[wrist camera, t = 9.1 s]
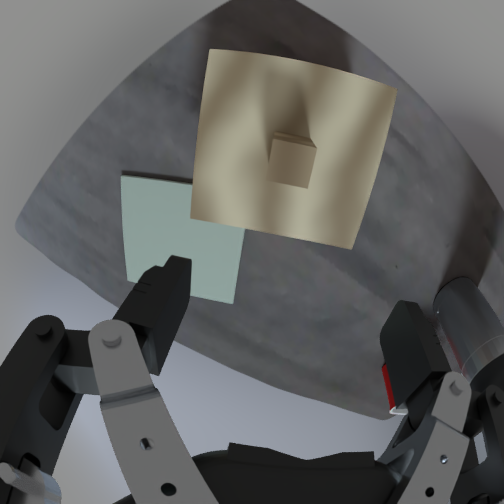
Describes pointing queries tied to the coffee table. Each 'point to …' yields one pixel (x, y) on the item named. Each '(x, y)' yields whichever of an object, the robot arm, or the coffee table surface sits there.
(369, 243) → the coffee table surface
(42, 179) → the coffee table surface
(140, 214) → the mat
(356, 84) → the lid
